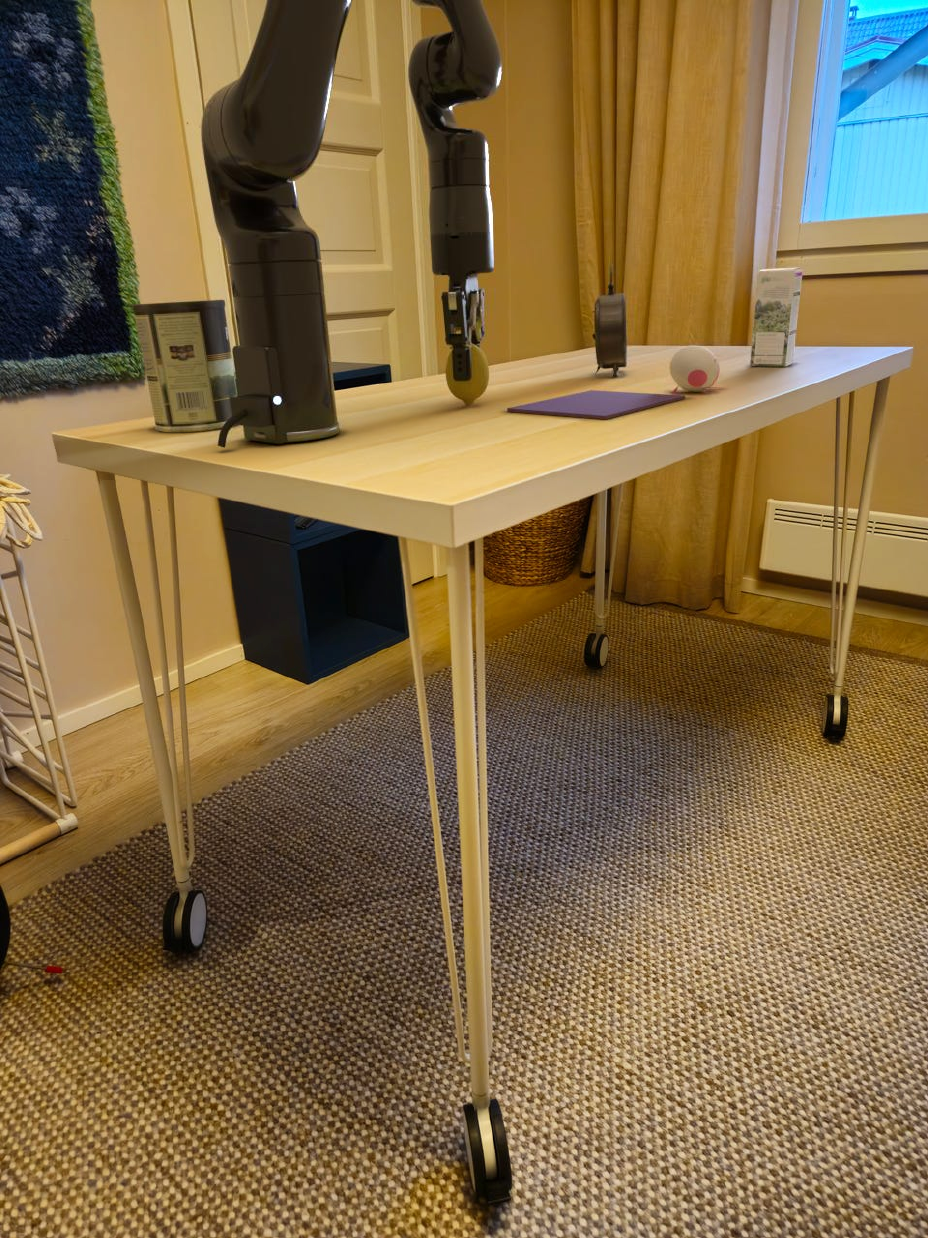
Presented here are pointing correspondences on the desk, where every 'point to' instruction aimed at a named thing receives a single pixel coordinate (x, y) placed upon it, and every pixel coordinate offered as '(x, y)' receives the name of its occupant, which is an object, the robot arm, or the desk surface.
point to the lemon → (477, 383)
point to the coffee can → (187, 363)
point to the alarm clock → (610, 330)
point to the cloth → (596, 404)
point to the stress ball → (694, 368)
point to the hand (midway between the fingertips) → (467, 377)
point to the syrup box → (775, 316)
